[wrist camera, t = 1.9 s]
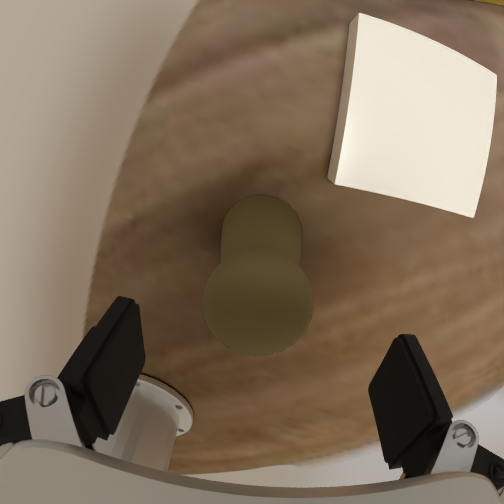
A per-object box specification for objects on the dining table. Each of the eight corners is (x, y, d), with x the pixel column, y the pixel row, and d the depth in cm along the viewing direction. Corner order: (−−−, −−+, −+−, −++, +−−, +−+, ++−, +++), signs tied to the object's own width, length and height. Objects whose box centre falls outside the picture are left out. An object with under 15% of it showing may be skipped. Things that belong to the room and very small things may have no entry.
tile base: (457, 208, 21) (473, 218, 18) (327, 177, 20) (334, 184, 18) (479, 76, 16) (496, 75, 13) (349, 23, 16) (359, 12, 13)
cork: (205, 239, 23) (162, 329, 13) (255, 177, 21) (244, 230, 11) (266, 284, 24) (265, 390, 14) (318, 229, 22) (356, 317, 12)
